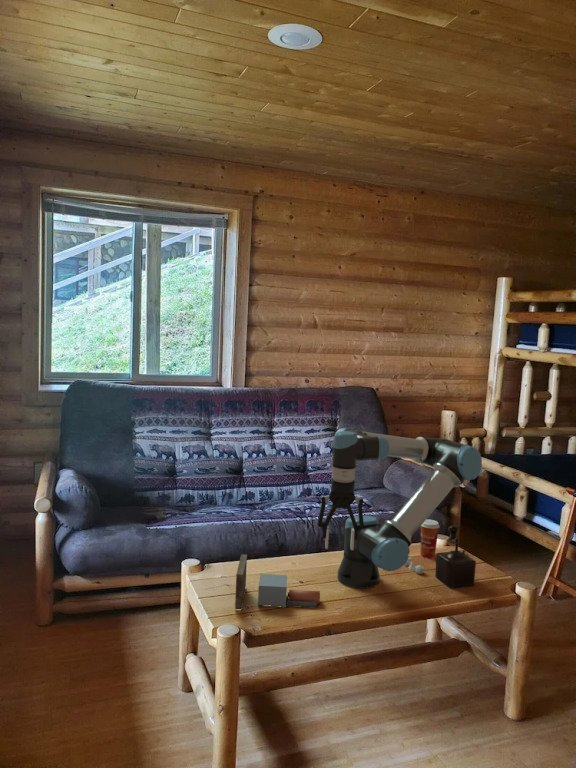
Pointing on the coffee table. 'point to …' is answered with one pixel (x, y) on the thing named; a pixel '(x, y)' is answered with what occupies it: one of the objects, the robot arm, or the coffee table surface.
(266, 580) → the block
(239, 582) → the wall
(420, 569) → the game pieces
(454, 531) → the black joystick
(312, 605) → the rails
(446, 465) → the robot arm
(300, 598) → the dowel
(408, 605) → the coffee table surface
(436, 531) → the paper cup
